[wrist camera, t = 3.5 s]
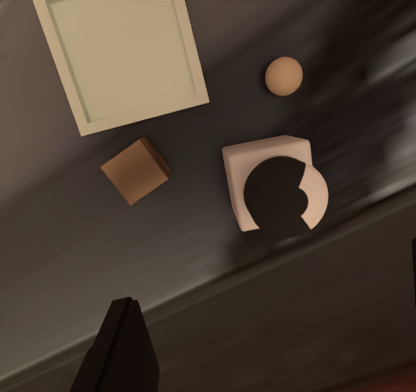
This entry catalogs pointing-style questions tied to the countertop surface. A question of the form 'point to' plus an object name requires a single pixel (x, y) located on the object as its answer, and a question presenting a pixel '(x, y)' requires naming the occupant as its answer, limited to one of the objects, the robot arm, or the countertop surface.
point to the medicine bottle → (275, 186)
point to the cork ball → (283, 76)
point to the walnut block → (137, 170)
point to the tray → (123, 59)
